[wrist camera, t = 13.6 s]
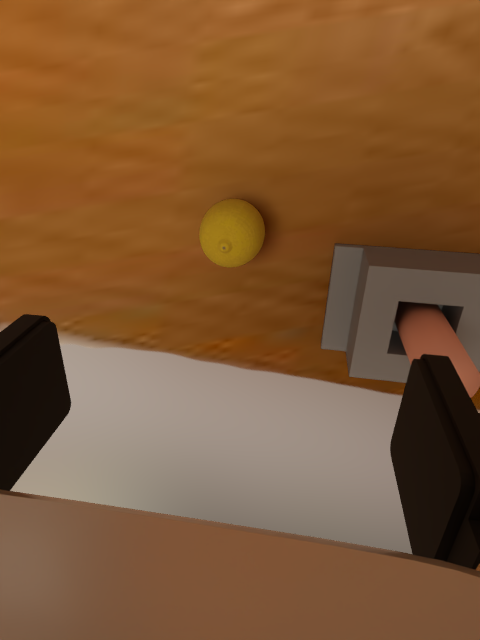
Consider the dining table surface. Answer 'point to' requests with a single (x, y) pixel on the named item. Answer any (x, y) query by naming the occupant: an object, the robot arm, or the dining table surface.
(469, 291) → the socket
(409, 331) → the peg
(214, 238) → the lemon
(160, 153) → the dining table surface
